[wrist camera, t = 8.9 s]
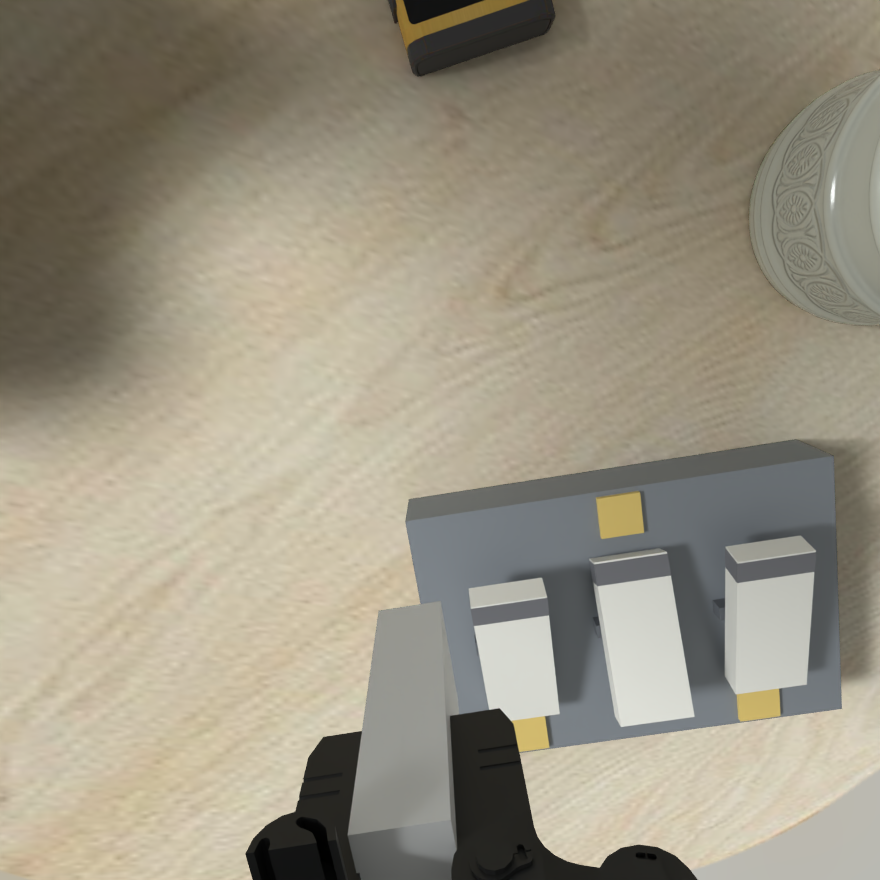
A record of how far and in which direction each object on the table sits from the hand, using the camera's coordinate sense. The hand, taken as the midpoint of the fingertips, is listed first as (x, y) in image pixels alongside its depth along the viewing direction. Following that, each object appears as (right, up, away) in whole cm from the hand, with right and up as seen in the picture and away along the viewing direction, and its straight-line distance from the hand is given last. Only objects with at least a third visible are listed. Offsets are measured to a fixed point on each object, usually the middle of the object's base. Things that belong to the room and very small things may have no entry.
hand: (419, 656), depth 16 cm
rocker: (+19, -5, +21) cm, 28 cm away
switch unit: (+12, -4, +27) cm, 30 cm away
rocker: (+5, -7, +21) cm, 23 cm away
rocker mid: (+12, -6, +21) cm, 25 cm away
